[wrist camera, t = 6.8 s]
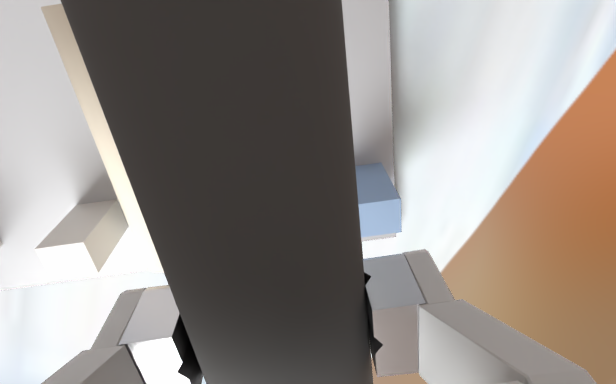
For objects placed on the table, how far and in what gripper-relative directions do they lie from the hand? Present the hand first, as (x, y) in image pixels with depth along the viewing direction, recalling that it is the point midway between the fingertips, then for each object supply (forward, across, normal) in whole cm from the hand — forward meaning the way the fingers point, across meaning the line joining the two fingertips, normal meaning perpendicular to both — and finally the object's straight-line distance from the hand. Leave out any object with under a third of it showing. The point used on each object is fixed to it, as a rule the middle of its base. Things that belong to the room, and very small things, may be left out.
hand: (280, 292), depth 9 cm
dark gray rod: (+1, 0, +1) cm, 1 cm away
